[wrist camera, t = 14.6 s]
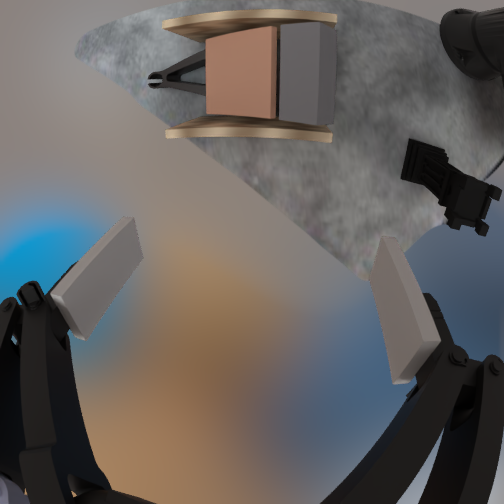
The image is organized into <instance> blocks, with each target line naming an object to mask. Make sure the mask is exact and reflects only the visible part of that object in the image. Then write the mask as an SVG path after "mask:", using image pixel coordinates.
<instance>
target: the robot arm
mask: <svg viewBox="0 0 504 504" xmlns="http://www.w3.org/2000/svg"><path fill="white" fill-rule="evenodd" d="M440 33H441V39H442V42H443V45H444V47H445V50H446V52H447V53H448V55H449V57H450V58H451V60H452V61H453V62H454V64H455V65H456V66H457V67H458V68H459V69H460V70H461V71H462V72H463V73H465V74H466V75H468V76H469V77H471V78H474V79H478V80H492V79H494V78H496V77H498V76H500V75H501V76H502V81H503V87H504V7H503V8H498V9H492V10H488V11H484V12H476V11H472V10H467V9H454V10H451V11H449V12H447V13H446V14H445V15H444V16H443V18H442V20H441V24H440ZM142 259H143V254H142V250H141V246H140V242H139V237H138V233H137V229H136V225H135V220H134V217H122V218H121V219H120V220H119V221H118V222H117V223H116V224H115V225H114V226H113V227H112V228H111V229H110V230H109V231H108V232H107V233H106V234H105V235H104V236H103V237H102V238H101V239H100V240H99V241H98V242H97V243H96V244H95V245H94V246H93V247H92V248H91V249H90V250H89V251H88V252H87V253H86V254H85V255H84V256H83V257H82V258H81V259H80V260H79V261H77V262H76V263H74V264H73V265H71V267H70V268H69V269H68V270H67V271H66V273H64V274H63V275H62V276H61V278H60V279H59V280H58V281H57V282H56V283H55V284H54V286H53V287H52V288H51V289H50V290H49V291H48V293H47V294H46V295H44V293H43V291H42V289H41V287H40V285H39V283H38V282H37V281H30V282H27V283H25V284H24V285H23V286H21V288H20V289H19V290H18V292H17V296H18V298H19V300H20V302H21V303H22V305H19V304H18V302H17V300H16V298H14V297H9V298H7V299H5V300H4V301H3V302H2V303H1V304H0V504H156V503H153V502H150V501H147V500H144V499H142V498H139V497H135V496H132V495H128V494H125V493H121V492H118V491H115V490H112V488H111V486H110V483H109V482H108V479H107V478H106V476H105V474H104V473H103V472H102V471H101V470H100V468H99V467H98V465H97V463H96V461H95V458H94V455H93V452H92V449H91V446H90V442H89V439H88V435H87V432H86V429H85V425H84V421H83V416H82V413H81V408H80V404H79V399H78V394H77V389H76V383H75V377H74V371H73V365H72V357H71V349H70V340H69V336H68V334H67V332H68V330H69V329H70V330H71V331H72V333H73V335H74V336H75V337H76V338H79V339H82V340H85V341H87V340H88V338H89V336H90V335H91V333H92V332H93V330H94V328H95V327H96V325H97V324H98V322H99V321H100V319H101V317H102V316H103V315H104V313H105V312H106V310H107V309H108V307H109V306H110V304H111V303H112V301H113V300H114V298H115V297H116V295H117V294H118V292H119V291H120V290H121V288H122V287H123V285H124V284H125V282H126V281H127V280H128V278H129V277H130V276H131V274H132V273H133V271H134V270H135V269H136V267H137V266H138V265H139V263H140V262H141V260H142ZM369 281H370V284H371V288H372V291H373V295H374V299H375V303H376V306H377V310H378V314H379V319H380V323H381V327H382V331H383V335H384V340H385V345H386V349H387V354H388V360H389V365H390V371H391V377H392V382H393V384H404V383H409V382H410V381H411V380H412V379H413V377H414V376H416V380H417V384H416V385H415V386H414V388H413V389H412V390H411V391H410V392H409V393H408V394H407V395H406V396H407V399H406V401H405V402H404V404H403V405H402V407H401V408H400V410H399V411H398V413H397V414H396V416H395V418H394V419H393V420H392V422H391V423H390V425H389V426H388V427H387V429H386V430H385V431H384V433H383V434H382V436H381V437H380V438H379V439H378V441H377V442H376V443H375V445H374V446H373V447H372V448H371V450H370V451H369V452H368V453H367V454H366V456H365V457H364V458H363V459H362V460H361V462H360V463H359V464H358V465H357V466H356V467H355V469H354V470H353V471H352V472H351V473H350V474H349V475H348V476H347V477H346V479H344V480H343V482H342V483H341V484H340V485H339V486H338V487H337V488H336V489H335V490H334V491H333V492H332V493H331V494H330V495H329V496H328V497H326V498H325V499H324V500H323V501H322V502H321V503H320V504H396V503H397V502H398V500H399V499H400V498H401V496H402V495H403V494H404V492H405V491H406V490H407V488H408V487H409V485H410V484H411V483H412V481H413V480H414V478H415V477H416V475H417V474H418V472H419V471H420V469H421V467H422V466H423V464H424V463H425V461H426V459H427V458H428V455H429V454H430V452H431V450H432V449H433V447H434V445H435V444H436V441H437V440H438V438H439V436H440V434H441V432H442V430H443V428H444V431H443V435H442V439H441V443H440V446H439V449H438V452H437V456H436V459H435V462H434V465H433V468H432V471H431V473H430V476H429V479H428V481H427V484H426V486H425V489H424V491H423V494H422V496H421V498H420V500H419V503H418V504H487V503H488V500H489V496H490V493H491V490H492V486H493V482H494V479H495V475H496V470H497V466H498V461H499V456H500V450H501V444H502V437H503V429H504V363H503V361H502V360H501V359H500V358H499V357H497V356H496V355H488V356H487V357H486V358H485V360H484V361H483V362H480V361H476V360H472V359H469V357H468V354H467V353H466V351H465V350H464V349H463V348H461V347H460V346H457V345H455V344H454V342H453V339H452V337H451V334H450V331H449V329H448V326H447V324H446V322H445V320H444V317H443V314H442V312H440V311H441V310H440V308H439V306H438V303H437V301H436V300H435V299H434V298H433V297H432V296H431V294H429V293H422V292H421V289H420V287H419V285H418V283H417V280H416V278H415V276H414V274H413V272H412V270H411V268H410V266H409V264H408V262H407V260H406V258H405V256H404V254H403V252H402V250H401V248H400V246H399V244H398V242H397V240H396V238H395V237H387V236H382V237H381V240H380V244H379V248H378V251H377V255H376V258H375V261H374V265H373V268H372V271H371V274H370V277H369ZM12 335H13V336H14V337H15V339H16V340H17V343H16V345H15V344H14V343H13V341H12V340H11V338H12ZM444 426H445V427H444ZM25 488H26V492H27V495H28V496H27V495H25V494H24V493H25ZM71 491H73V492H74V493H76V495H77V496H76V497H73V495H72V492H71Z"/></svg>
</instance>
